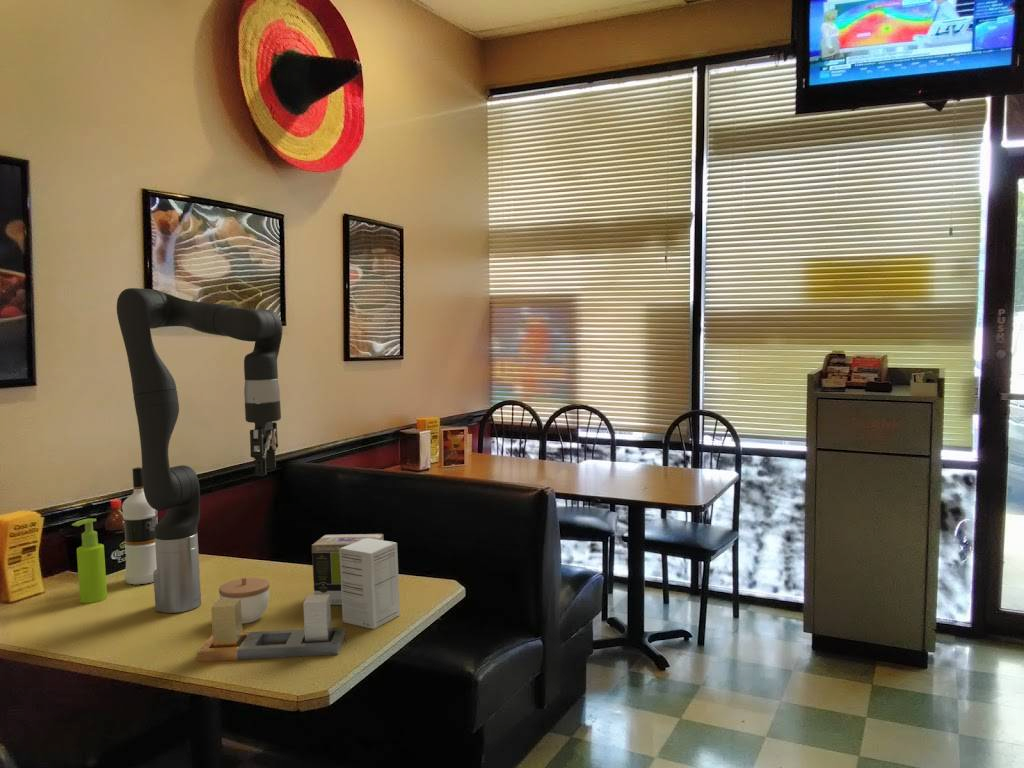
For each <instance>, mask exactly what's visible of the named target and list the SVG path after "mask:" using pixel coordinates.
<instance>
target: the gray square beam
mask: <svg viewBox="0 0 1024 768" xmlns="http://www.w3.org/2000/svg"><path fill="white" fill-rule="evenodd" d="M302 604H303V621H304V622H303V623H304V624H303V625H304V627H303V628H304V629H305V643H322V642H331V641H332V629H331V628H332V612H331V606H332V605H330V594H327V595H314V594H312V595H310V594H308V595H307V596H306V598H305V600H304V602H303V603H302Z"/></svg>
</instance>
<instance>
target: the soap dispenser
mask: <svg viewBox="0 0 1024 768" xmlns="http://www.w3.org/2000/svg"><path fill="white" fill-rule="evenodd" d="M94 522H97V518H92V517H90V518H84V519H81V520H77V521H75V522H73V523H72V524H71V526H72V527H80V526H82V525H84V531H83V532H82V533H81V546H79V547H77V548H76V559H77V560H76V561H77V573H78V574H77V577H78V590H79V591H78V592H79V602H80V603H81V602H82V603H81V604H93V603H94V602H95V603H97V602H98V601H99V602H101V600H102V601H105V600H106V599H107V598H108V588H107V585H108V584H107V573H106V570H107V569H106V557H105V545H104V543H103V544H102V543H99V539H98V531H96V530H94V524H93V523H94ZM95 603H94V604H95Z"/></svg>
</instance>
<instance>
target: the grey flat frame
mask: <svg viewBox="0 0 1024 768" xmlns="http://www.w3.org/2000/svg"><path fill="white" fill-rule="evenodd" d="M331 629H332V641H331V642H322V643H305V628H304V629H285V630H283V629H282V630H266V631H264V630H263V631H246V632H245V631H244V632H243V631H242V632H243V642H242V644H241V645H240V646H239V647H225V648H213V633H212V634H211V635H210V637H209V638H208V639H207V641H206V642H205V643H203V645H202V646H201V648H200V649H199V650H198V651H197V659H198V662H200V663H201V662H202V663H203V662H204V663H205V662H219V661H220V662H221V661H222V662H223V661H240V660H242V661H243V660H258V659H276V658H297V657H314V656H316V657H317V656H332V655H333V656H337V655H339V653H340V650H341V647H342V645H343V643H344V639H345V638H346V637H345V636H346V634H345V627H344V626H343V627H331ZM278 643H280V644H278ZM283 643H285V644H283ZM263 644H264V645H263ZM266 644H268V645H266Z"/></svg>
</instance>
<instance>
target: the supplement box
mask: <svg viewBox="0 0 1024 768" xmlns="http://www.w3.org/2000/svg"><path fill="white" fill-rule="evenodd" d="M339 555H340V575H341V595H342V605H341V610H342V612H341V613H342V614H341V615H342V622H343V623H345V624H349V625H354V626H359V627H362V628H367V629H372V630H375V629H376V628H378V627H380V626H382V625H385V624H387V622H390V621H392V620H393V619H395V618H397V617H399V616H400V615H401V605H400V604H401V602H400V581H399V580H400V579H399V558H398V556H399V553H398V543H397V542H394V541H389V540H384V541H383V540H377V539H371V538H365V539H363V540H360V541H358V542H355V543H352V544H350V545H347V546H345V547H342V548H340V549H339Z"/></svg>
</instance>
